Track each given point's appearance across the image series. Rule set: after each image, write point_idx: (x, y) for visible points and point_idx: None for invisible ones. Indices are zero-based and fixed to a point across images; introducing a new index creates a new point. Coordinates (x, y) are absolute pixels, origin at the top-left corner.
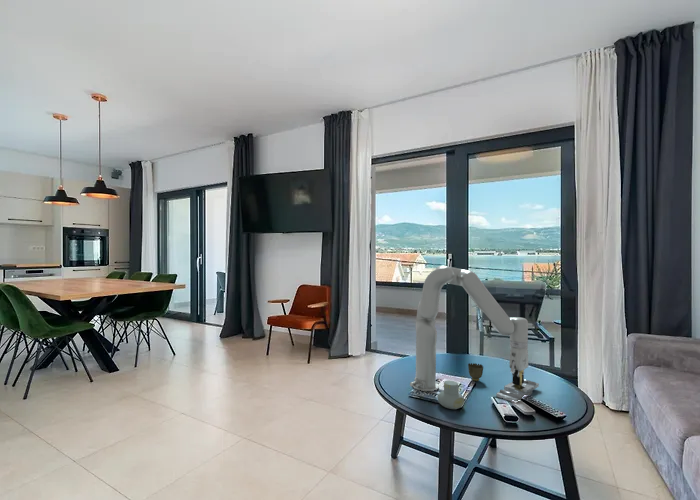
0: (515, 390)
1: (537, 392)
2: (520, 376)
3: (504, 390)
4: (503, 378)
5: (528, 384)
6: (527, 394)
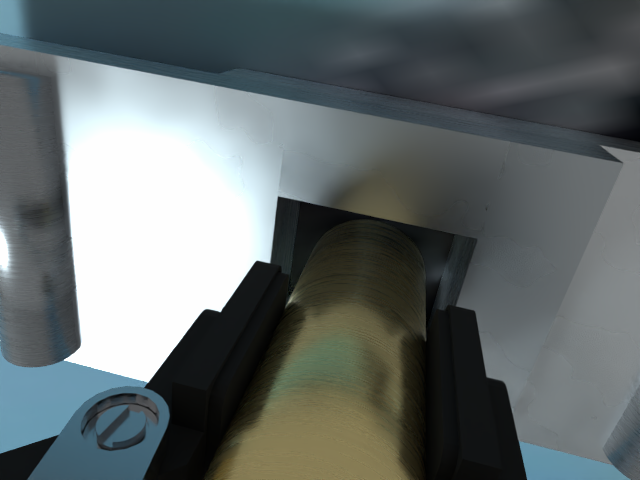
0: (549, 309)
1: (112, 9)
2: (391, 443)
3: (529, 423)
4: (21, 441)
5: (100, 175)
6: (429, 109)
